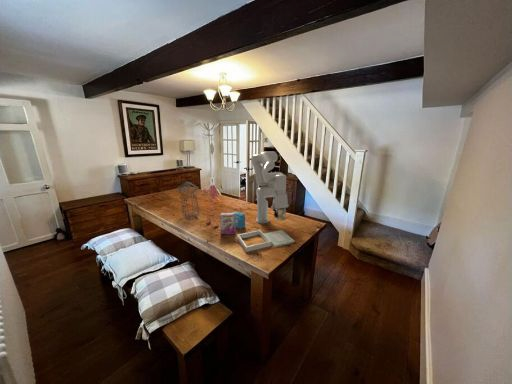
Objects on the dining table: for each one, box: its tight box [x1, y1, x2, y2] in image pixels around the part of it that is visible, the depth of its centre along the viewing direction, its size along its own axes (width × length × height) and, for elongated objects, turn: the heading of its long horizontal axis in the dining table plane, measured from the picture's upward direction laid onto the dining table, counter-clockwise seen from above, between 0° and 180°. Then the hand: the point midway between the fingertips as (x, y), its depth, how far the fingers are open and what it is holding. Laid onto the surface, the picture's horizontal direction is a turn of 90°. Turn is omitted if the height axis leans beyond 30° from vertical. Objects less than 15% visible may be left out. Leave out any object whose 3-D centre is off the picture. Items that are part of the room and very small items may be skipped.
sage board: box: [263, 229, 295, 248], centre depth 147 cm, size 18×16×2 cm
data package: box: [232, 211, 246, 229], centre depth 165 cm, size 12×4×12 cm, turn 57°
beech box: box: [273, 207, 287, 222], centre depth 141 cm, size 5×8×8 cm, turn 24°
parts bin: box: [236, 229, 272, 253], centre depth 142 cm, size 19×19×4 cm
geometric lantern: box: [176, 181, 200, 221], centre depth 180 cm, size 16×16×35 cm
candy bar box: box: [219, 212, 236, 235], centre depth 153 cm, size 11×5×16 cm, turn 92°
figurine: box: [203, 184, 222, 228], centre depth 168 cm, size 15×26×35 cm, turn 45°
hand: (279, 216), depth 141 cm, fingers closed on beech box, 5 cm apart
